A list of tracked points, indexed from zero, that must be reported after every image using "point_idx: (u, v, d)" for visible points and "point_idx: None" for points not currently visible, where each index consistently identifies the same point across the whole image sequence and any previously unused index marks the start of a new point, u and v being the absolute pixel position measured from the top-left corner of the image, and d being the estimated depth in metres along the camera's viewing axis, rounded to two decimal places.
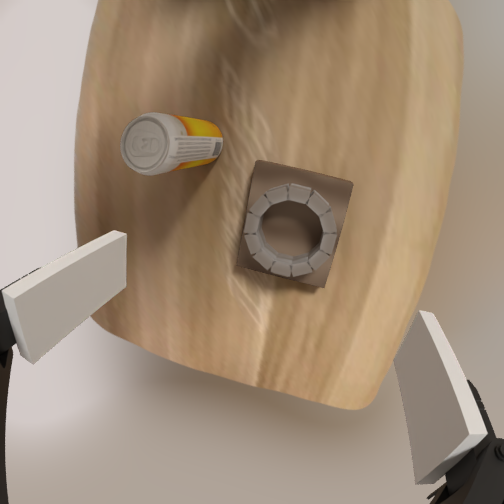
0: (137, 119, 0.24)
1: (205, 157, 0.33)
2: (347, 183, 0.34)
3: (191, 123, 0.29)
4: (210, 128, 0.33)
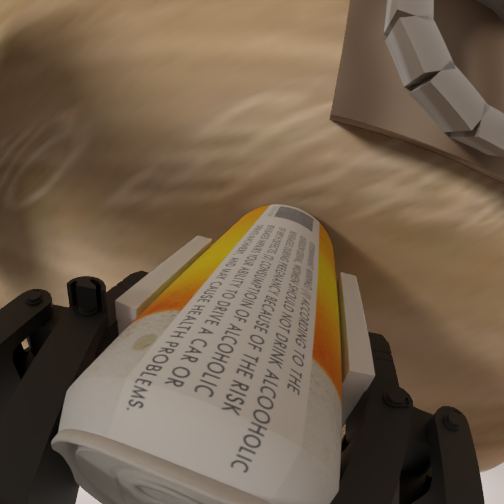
0: (87, 484, 0.05)
1: (313, 246, 0.11)
2: None
3: (175, 280, 0.09)
4: (233, 227, 0.13)
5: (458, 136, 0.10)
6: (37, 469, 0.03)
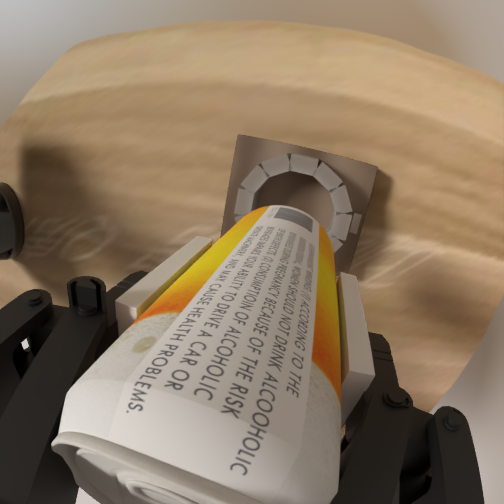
0: (87, 485, 0.05)
1: (313, 248, 0.11)
2: (237, 141, 0.28)
3: (174, 282, 0.09)
4: (233, 228, 0.13)
5: None
6: (37, 469, 0.03)
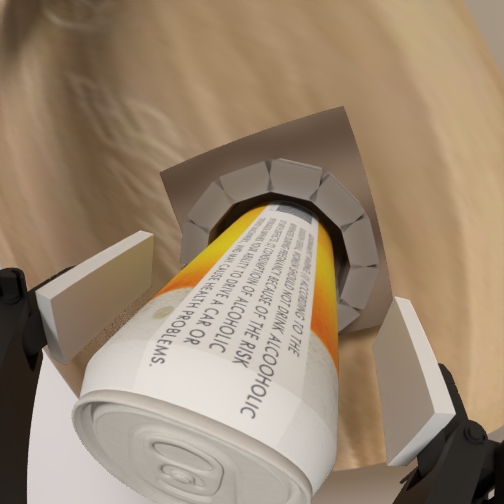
0: (101, 456, 0.05)
1: (312, 238, 0.12)
2: (332, 111, 0.15)
3: None
4: (237, 221, 0.14)
5: None
6: None
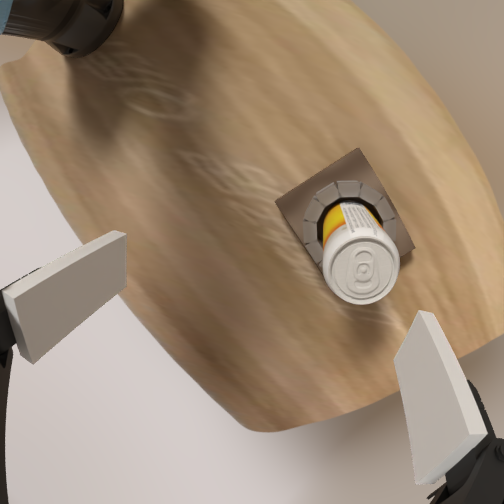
0: (333, 286, 0.22)
1: (365, 210, 0.28)
2: (354, 151, 0.32)
3: (330, 227, 0.26)
4: (331, 213, 0.31)
5: None
6: None
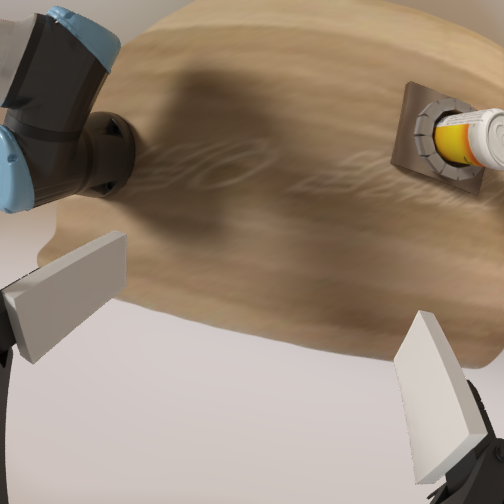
0: (501, 164, 0.19)
1: (458, 114, 0.26)
2: (410, 86, 0.31)
3: (458, 138, 0.24)
4: (440, 135, 0.29)
5: (436, 172, 0.33)
6: None
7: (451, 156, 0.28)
